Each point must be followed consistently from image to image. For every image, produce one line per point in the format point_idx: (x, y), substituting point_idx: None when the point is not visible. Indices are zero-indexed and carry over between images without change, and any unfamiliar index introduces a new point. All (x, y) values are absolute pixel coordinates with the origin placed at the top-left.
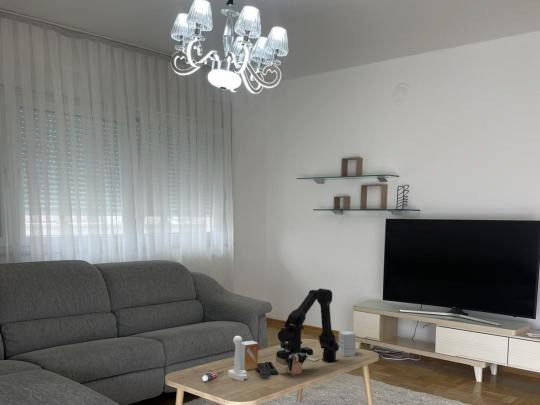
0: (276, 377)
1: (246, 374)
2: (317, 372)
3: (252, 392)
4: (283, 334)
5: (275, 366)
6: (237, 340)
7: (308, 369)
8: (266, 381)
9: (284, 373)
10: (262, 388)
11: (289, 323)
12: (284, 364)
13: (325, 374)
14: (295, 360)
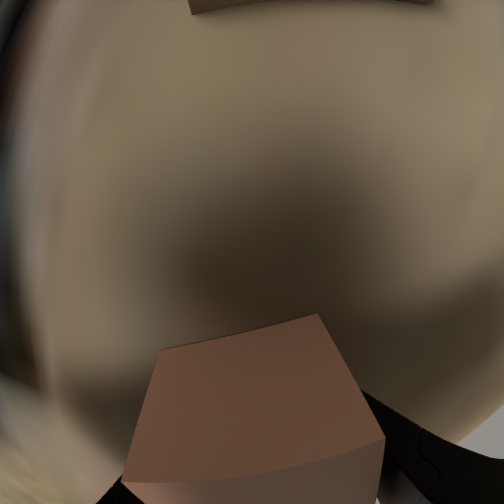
0: (44, 446)
1: None
2: (471, 390)
3: (2, 496)
4: None
5: (42, 69)
6: None
7: (471, 302)
8: (6, 460)
9: (108, 399)
10: (20, 497)
11: None
12: (206, 3)
13: (477, 422)
14: (356, 452)
